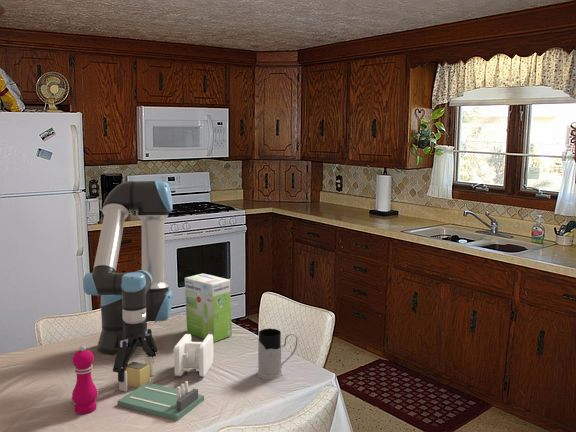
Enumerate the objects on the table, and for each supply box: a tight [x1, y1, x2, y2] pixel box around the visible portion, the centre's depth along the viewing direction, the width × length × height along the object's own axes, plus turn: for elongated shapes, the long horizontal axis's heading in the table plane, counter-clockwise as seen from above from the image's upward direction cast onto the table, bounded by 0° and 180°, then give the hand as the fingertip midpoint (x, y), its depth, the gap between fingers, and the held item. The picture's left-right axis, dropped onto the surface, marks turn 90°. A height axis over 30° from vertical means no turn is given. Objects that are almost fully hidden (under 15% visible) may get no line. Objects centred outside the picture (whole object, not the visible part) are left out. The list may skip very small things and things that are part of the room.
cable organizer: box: [172, 333, 214, 378], centre depth 193 cm, size 15×11×12 cm
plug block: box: [125, 361, 151, 388], centre depth 184 cm, size 7×5×6 cm
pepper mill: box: [71, 345, 98, 415], centre depth 165 cm, size 7×7×20 cm
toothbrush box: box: [184, 273, 233, 343], centre depth 228 cm, size 18×10×24 cm, turn 49°
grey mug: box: [256, 328, 298, 380], centre depth 192 cm, size 9×14×15 cm, turn 104°
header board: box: [117, 380, 205, 422], centre depth 170 cm, size 22×14×8 cm, turn 66°
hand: (136, 382), depth 184 cm, fingers open, 12 cm apart
